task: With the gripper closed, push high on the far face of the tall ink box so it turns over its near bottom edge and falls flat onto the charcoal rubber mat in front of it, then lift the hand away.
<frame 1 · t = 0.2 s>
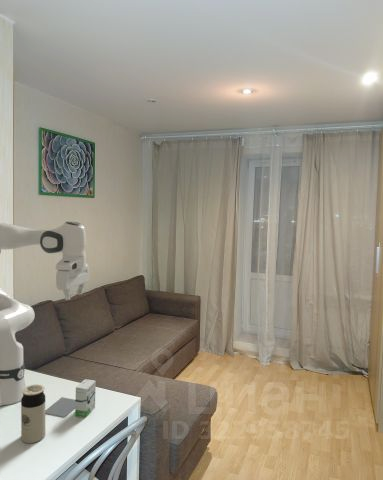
hand: (74, 296, 151), 47 cm above the table, fingers open, 8 cm apart
ink box: (85, 412, 154), on the table
travel mug: (33, 437, 136), on the table
mat: (63, 407, 156), on the table
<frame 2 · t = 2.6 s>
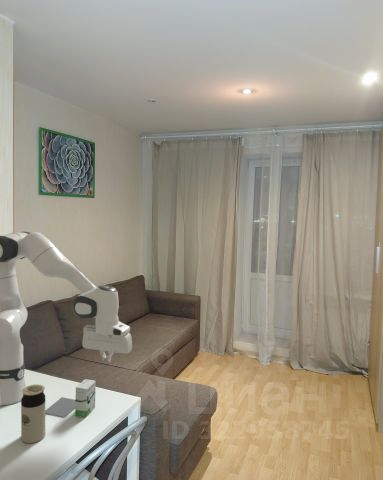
hand: (106, 361, 149), 23 cm above the table, fingers closed
nothing on the table moved.
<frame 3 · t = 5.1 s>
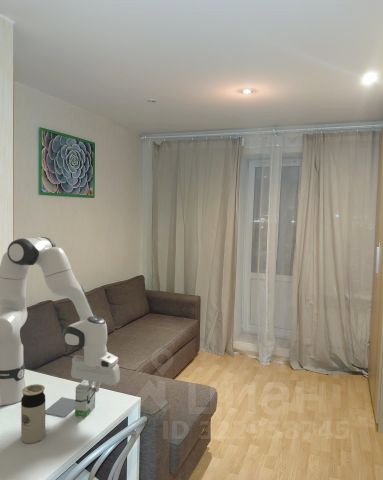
hand: (94, 391, 152), 9 cm above the table, fingers closed
ink box: (85, 412, 154), on the table, touching gripper
everything else where it was.
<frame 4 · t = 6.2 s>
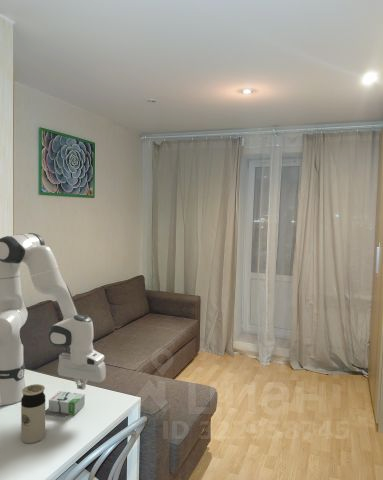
hand: (81, 388, 153), 9 cm above the table, fingers closed
ink box: (80, 404, 154), point 3 cm above the table, touching mat
everything else where it was.
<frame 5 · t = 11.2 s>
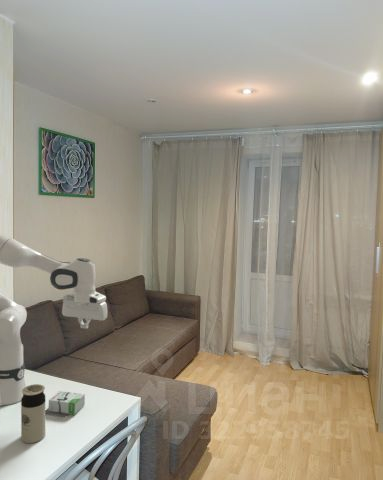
hand: (84, 327, 162), 31 cm above the table, fingers closed
nothing on the table moved.
at the end: ink box tilted 91°; ink box inside the target area (7.0 cm from its centre), point 2.8 cm above the table; the gripper is holding nothing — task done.
